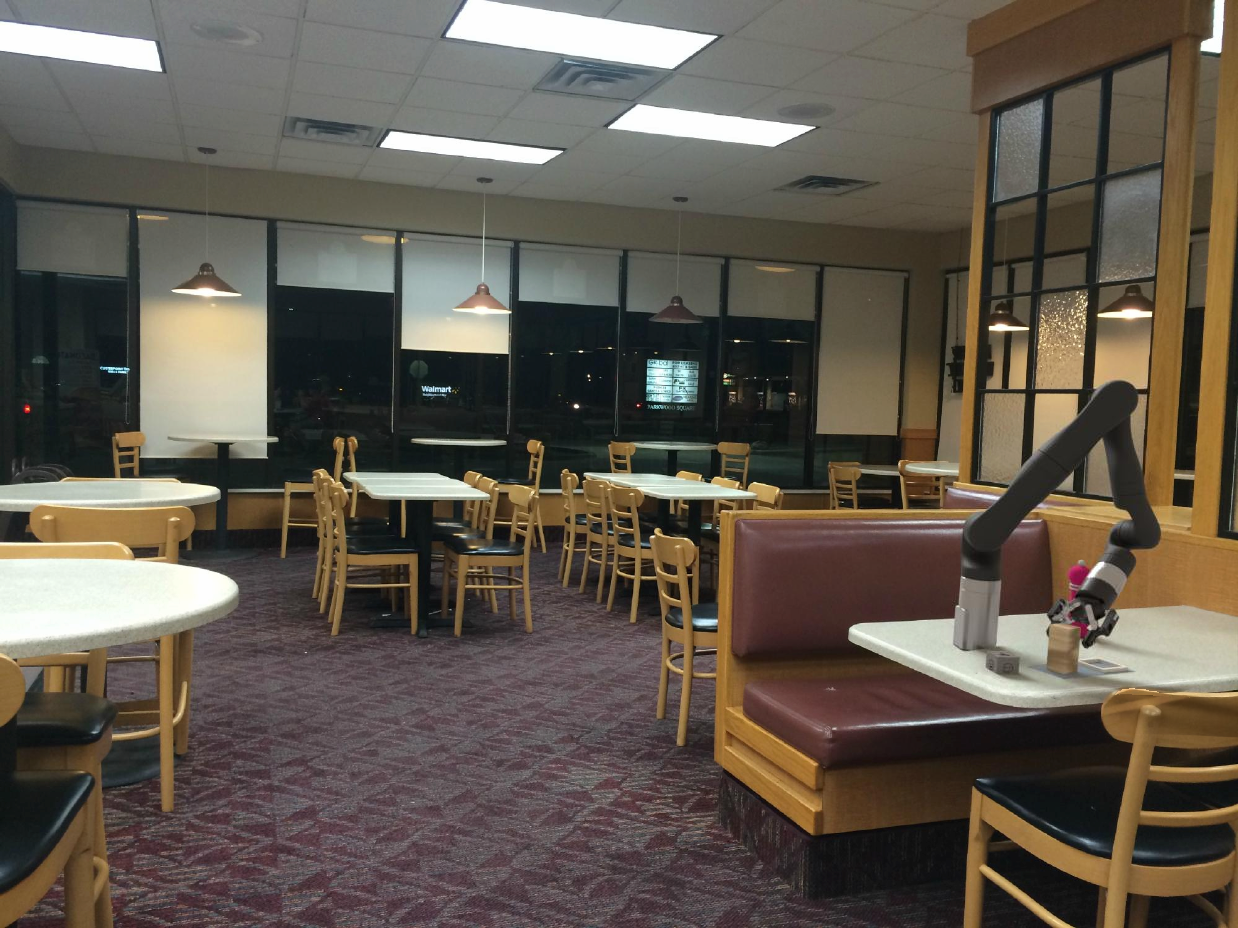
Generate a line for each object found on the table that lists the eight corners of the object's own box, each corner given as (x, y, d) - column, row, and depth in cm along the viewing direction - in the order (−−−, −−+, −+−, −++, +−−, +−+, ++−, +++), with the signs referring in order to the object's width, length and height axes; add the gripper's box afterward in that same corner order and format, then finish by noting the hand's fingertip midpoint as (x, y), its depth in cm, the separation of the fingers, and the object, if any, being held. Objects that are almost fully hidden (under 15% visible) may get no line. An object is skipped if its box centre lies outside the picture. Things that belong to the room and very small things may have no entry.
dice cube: (995, 679, 207) (997, 656, 207) (985, 672, 212) (986, 650, 212) (1018, 680, 208) (1019, 657, 207) (1006, 673, 213) (1008, 651, 212)
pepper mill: (1087, 639, 249) (1094, 563, 247) (1057, 634, 253) (1064, 559, 252) (1093, 634, 255) (1099, 560, 253) (1064, 629, 259) (1070, 556, 258)
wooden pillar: (1064, 674, 209) (1068, 629, 208) (1046, 668, 213) (1049, 624, 212) (1077, 672, 211) (1080, 627, 211) (1058, 666, 215) (1062, 622, 215)
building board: (1063, 684, 206) (1064, 674, 206) (1026, 671, 215) (1027, 662, 215) (1134, 676, 215) (1135, 667, 214) (1096, 664, 224) (1097, 656, 224)
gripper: (1066, 570, 222) (1031, 623, 217) (1125, 581, 210) (1090, 638, 204) (1078, 591, 225) (1044, 644, 220) (1138, 604, 213) (1103, 660, 208)
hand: (1066, 641), depth 212 cm, fingers open, 8 cm apart
